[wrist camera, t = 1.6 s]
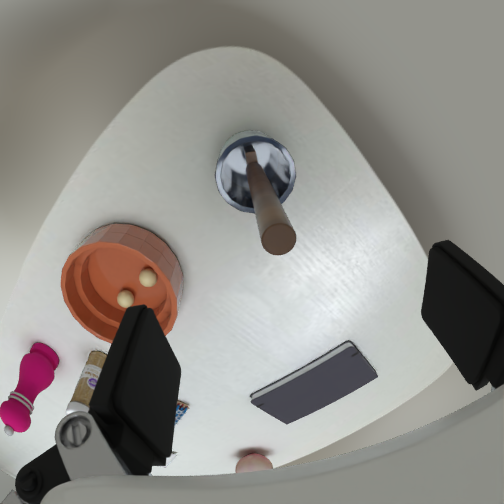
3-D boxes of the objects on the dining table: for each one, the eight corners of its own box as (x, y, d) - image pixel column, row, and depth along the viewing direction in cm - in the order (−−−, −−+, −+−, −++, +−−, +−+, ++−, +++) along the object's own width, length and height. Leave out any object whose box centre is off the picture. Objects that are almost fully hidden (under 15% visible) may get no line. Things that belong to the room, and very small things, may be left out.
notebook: (285, 418, 56) (375, 371, 51) (286, 424, 55) (378, 376, 50) (248, 395, 51) (349, 338, 46) (248, 402, 50) (352, 345, 45)
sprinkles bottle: (114, 356, 45) (92, 419, 33) (111, 370, 47) (91, 430, 35) (90, 346, 44) (64, 407, 32) (88, 361, 46) (65, 419, 34)
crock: (213, 137, 31) (207, 145, 24) (275, 125, 31) (288, 129, 24) (226, 195, 34) (225, 220, 27) (285, 183, 34) (300, 205, 27)
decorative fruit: (257, 442, 61) (260, 478, 52) (275, 451, 64) (280, 484, 55) (226, 452, 63) (227, 486, 54) (246, 461, 66) (248, 492, 57)
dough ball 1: (117, 288, 38) (112, 298, 36) (132, 285, 38) (127, 295, 36) (124, 302, 40) (119, 312, 37) (138, 299, 39) (134, 309, 37)
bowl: (63, 237, 35) (42, 257, 30) (162, 209, 35) (150, 228, 29) (106, 325, 42) (94, 351, 37) (197, 311, 42) (193, 340, 36)
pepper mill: (25, 346, 44) (-16, 422, 26) (41, 335, 43) (-4, 419, 25) (50, 370, 47) (17, 447, 29) (67, 361, 46) (32, 447, 28)
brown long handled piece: (240, 147, 31) (254, 206, 13) (254, 144, 31) (290, 198, 13) (246, 178, 33) (268, 277, 14) (260, 175, 33) (301, 270, 14)
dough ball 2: (139, 266, 37) (134, 276, 35) (155, 263, 37) (151, 272, 35) (145, 282, 38) (141, 292, 36) (161, 278, 38) (158, 289, 36)
